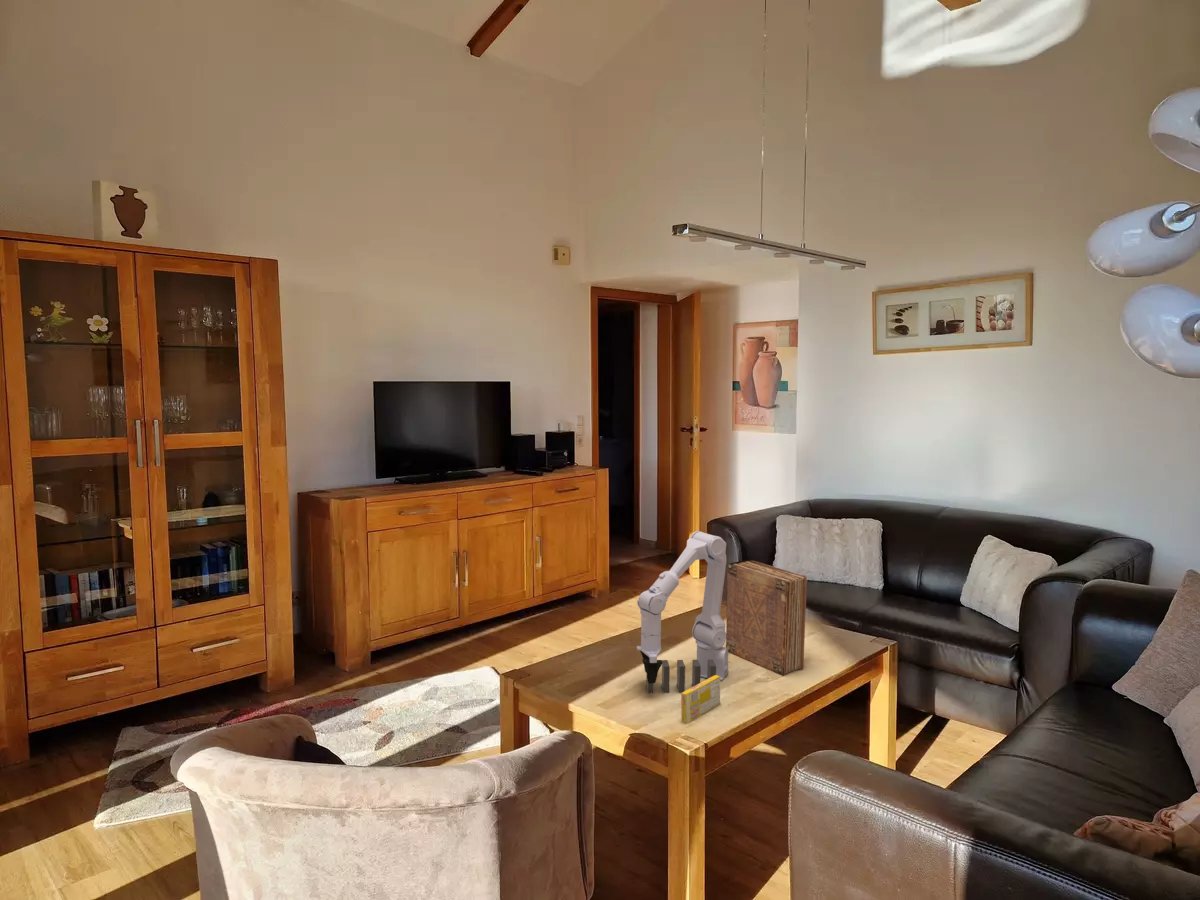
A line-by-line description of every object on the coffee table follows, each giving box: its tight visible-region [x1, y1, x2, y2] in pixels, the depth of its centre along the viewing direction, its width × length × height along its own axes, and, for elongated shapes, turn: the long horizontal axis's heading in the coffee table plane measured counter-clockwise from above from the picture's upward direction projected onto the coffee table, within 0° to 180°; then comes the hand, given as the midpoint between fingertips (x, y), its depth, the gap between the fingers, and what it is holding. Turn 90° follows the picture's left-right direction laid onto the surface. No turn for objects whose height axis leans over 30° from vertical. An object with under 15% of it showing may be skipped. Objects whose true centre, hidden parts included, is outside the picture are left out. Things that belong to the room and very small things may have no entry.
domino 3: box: [676, 659, 686, 694], centre depth 230 cm, size 2×5×8 cm, turn 2°
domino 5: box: [706, 660, 716, 680], centre depth 230 cm, size 2×5×8 cm, turn 3°
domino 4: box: [691, 659, 701, 688], centre depth 230 cm, size 2×5×8 cm, turn 3°
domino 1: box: [645, 676, 655, 694], centre depth 229 cm, size 2×5×8 cm, turn 3°
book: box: [725, 559, 808, 677], centre depth 251 cm, size 25×9×30 cm, turn 35°
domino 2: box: [661, 659, 671, 694], centre depth 230 cm, size 2×5×8 cm, turn 3°
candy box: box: [680, 675, 721, 724], centre depth 215 cm, size 16×2×8 cm, turn 138°
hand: (650, 677), depth 229 cm, fingers open, 7 cm apart
